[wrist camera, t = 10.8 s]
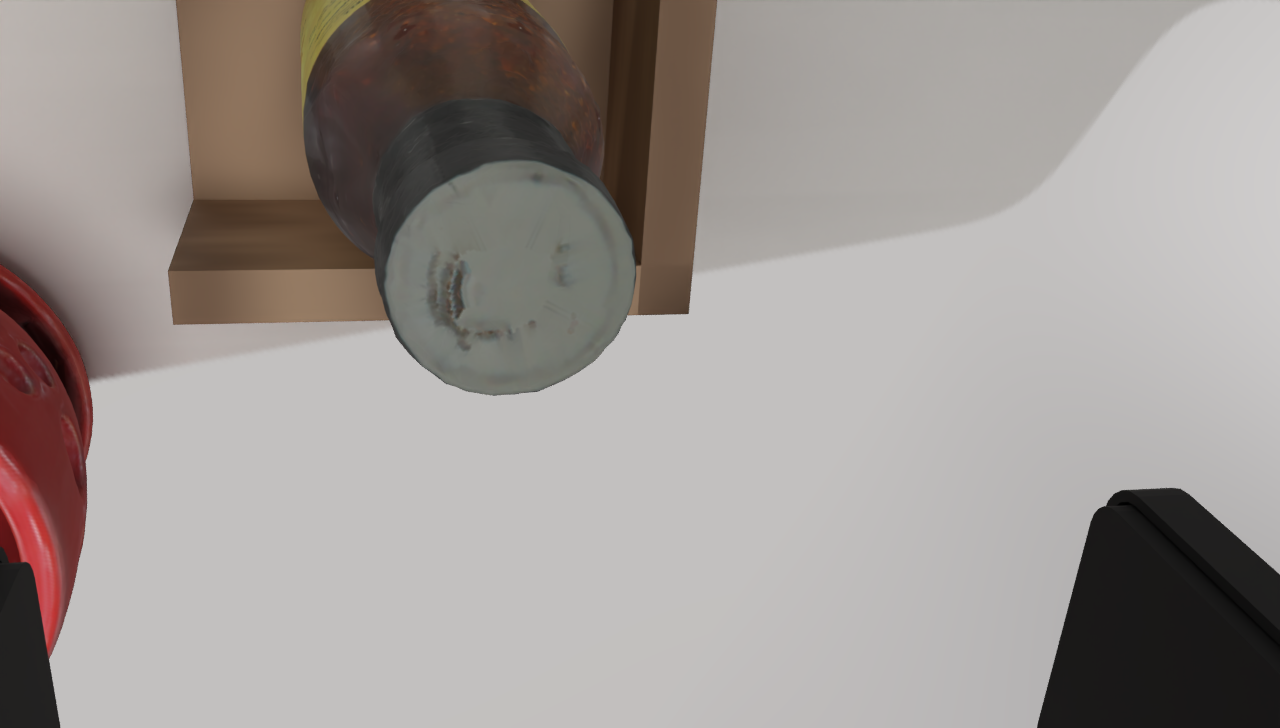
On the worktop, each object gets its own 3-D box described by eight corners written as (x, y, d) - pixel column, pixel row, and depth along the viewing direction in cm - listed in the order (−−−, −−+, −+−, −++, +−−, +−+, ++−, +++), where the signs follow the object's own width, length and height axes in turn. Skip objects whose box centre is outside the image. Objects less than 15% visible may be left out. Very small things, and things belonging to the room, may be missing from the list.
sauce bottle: (266, 69, 36) (186, 355, 18) (365, -128, 34) (383, -19, 17) (464, 173, 38) (561, 512, 21) (565, -5, 37) (764, 201, 19)
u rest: (668, -207, 36) (735, -202, 30) (636, 247, 42) (687, 329, 36) (159, -245, 33) (115, -248, 27) (202, 250, 39) (174, 342, 32)
